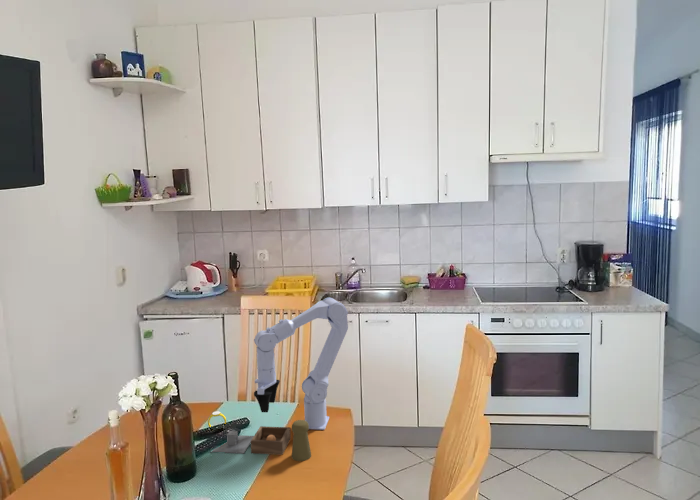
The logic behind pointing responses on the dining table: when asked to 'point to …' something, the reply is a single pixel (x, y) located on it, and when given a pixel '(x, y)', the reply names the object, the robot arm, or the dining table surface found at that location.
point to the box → (270, 447)
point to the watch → (215, 416)
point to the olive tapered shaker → (300, 441)
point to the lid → (235, 443)
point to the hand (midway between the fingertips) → (268, 406)
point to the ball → (271, 438)
